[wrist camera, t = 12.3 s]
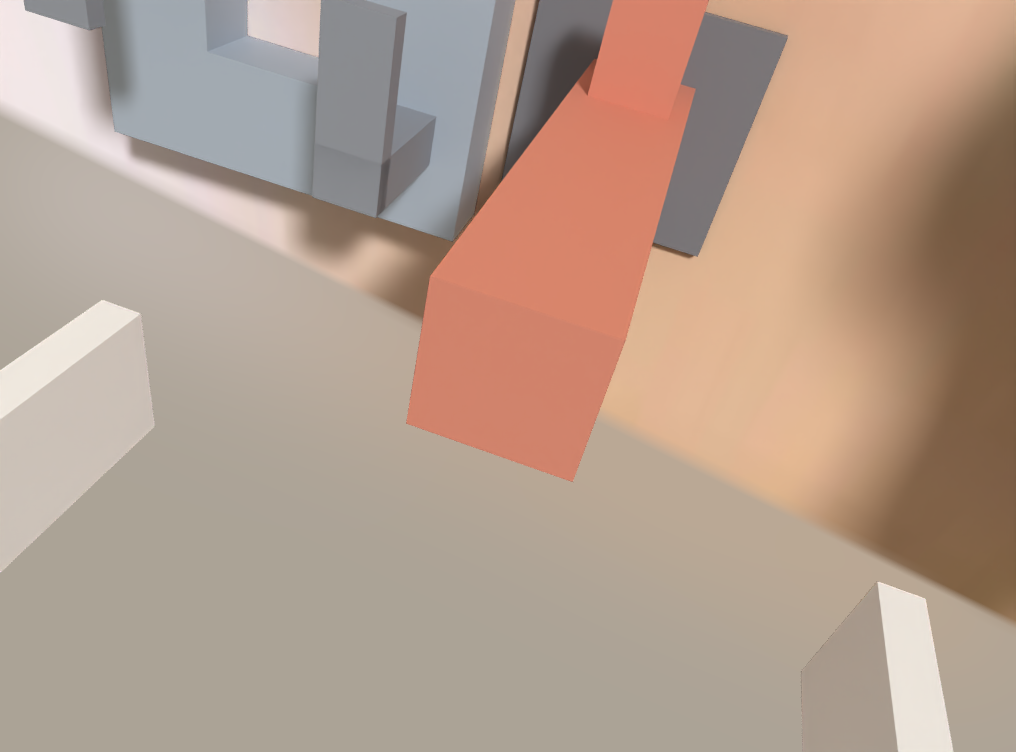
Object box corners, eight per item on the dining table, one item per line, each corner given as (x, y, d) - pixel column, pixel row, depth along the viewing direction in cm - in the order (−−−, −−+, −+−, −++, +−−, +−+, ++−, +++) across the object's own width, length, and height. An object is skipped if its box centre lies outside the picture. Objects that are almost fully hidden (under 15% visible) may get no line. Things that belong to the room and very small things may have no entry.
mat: (787, 35, 27) (787, 37, 27) (698, 252, 33) (697, 256, 32) (548, -33, 28) (546, -32, 28) (501, 190, 34) (498, 193, 33)
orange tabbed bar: (623, -52, 27) (461, 82, 13) (734, -21, 26) (695, 153, 12) (547, 237, 34) (389, 529, 20) (633, 265, 33) (534, 582, 19)
